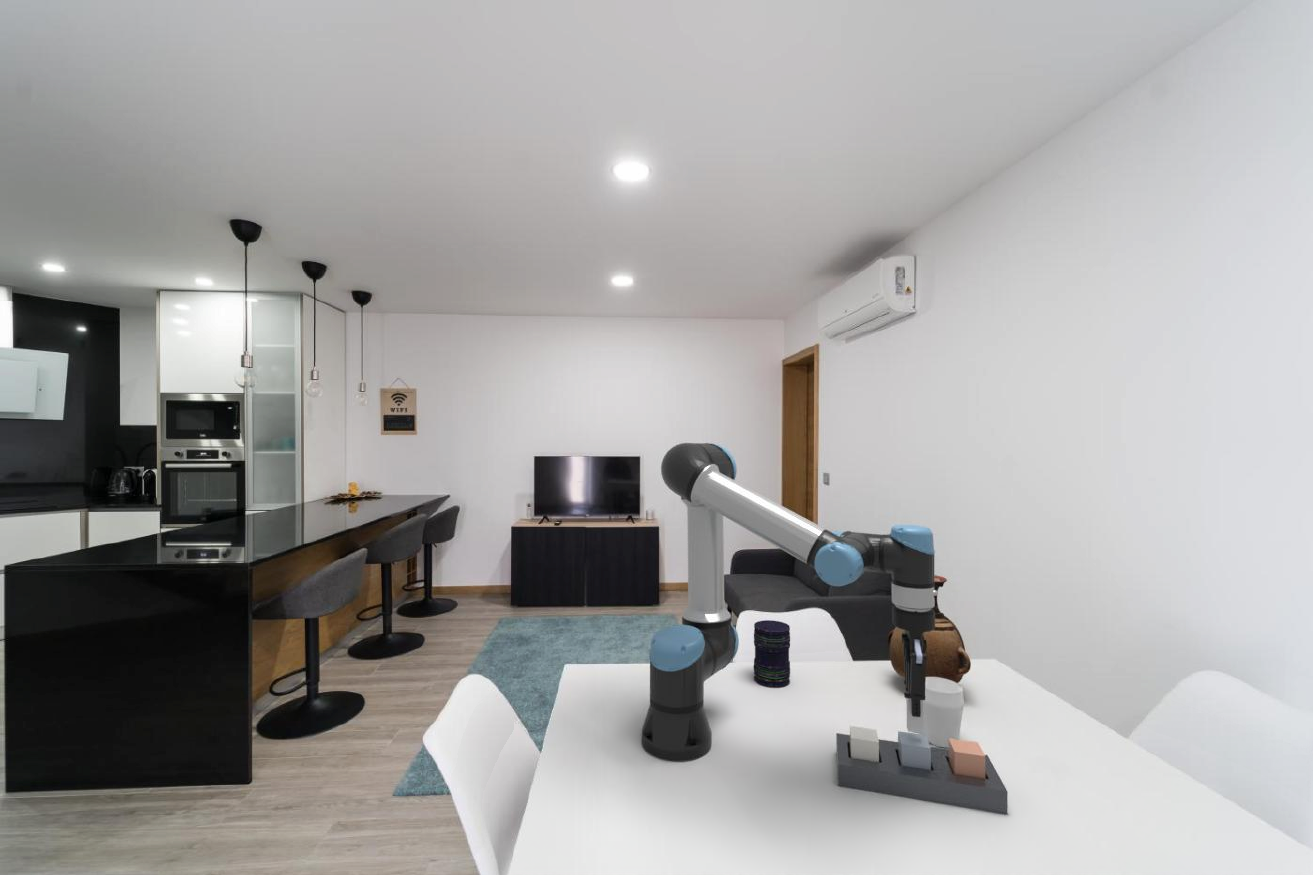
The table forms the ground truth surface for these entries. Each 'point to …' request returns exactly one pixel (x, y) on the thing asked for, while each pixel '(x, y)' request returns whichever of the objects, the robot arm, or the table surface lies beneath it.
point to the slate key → (914, 750)
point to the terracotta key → (966, 758)
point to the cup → (942, 710)
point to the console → (920, 778)
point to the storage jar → (772, 654)
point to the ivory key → (864, 744)
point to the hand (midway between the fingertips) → (915, 730)
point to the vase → (935, 647)
